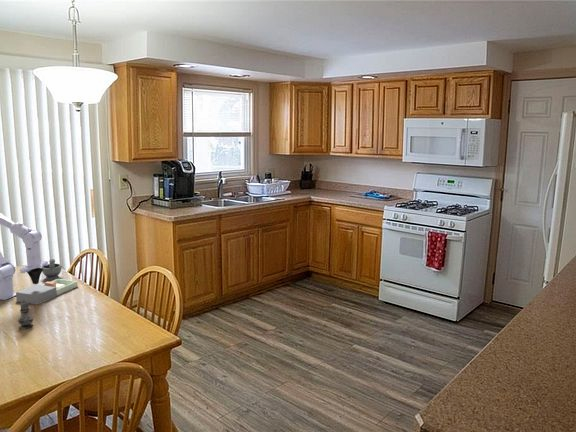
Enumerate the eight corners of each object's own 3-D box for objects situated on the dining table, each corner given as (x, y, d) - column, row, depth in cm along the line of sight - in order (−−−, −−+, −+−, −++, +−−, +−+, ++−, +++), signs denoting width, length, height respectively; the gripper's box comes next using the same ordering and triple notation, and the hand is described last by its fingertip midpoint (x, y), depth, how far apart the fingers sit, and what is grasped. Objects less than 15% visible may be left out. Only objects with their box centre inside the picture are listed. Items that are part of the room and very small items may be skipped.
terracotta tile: (44, 282, 234) (47, 281, 236) (45, 292, 235) (48, 291, 237) (52, 283, 233) (55, 282, 234) (53, 293, 233) (56, 292, 235)
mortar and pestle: (41, 277, 259) (40, 255, 257) (60, 274, 264) (58, 253, 262) (44, 282, 250) (42, 260, 248) (63, 279, 255) (62, 258, 253)
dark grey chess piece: (27, 330, 192) (24, 302, 190) (14, 328, 194) (12, 301, 191) (37, 324, 198) (35, 297, 196) (25, 323, 199) (22, 296, 197)
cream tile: (56, 283, 242) (57, 287, 243) (49, 286, 237) (49, 290, 238) (64, 284, 241) (65, 288, 241) (57, 287, 236) (57, 291, 236)
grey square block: (16, 301, 223) (15, 292, 222) (36, 293, 235) (36, 284, 234) (37, 304, 220) (36, 295, 219) (56, 296, 231) (55, 287, 230)
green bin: (37, 292, 235) (37, 287, 234) (58, 284, 248) (58, 278, 248) (57, 295, 232) (56, 289, 231) (77, 286, 245) (77, 281, 244)
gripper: (27, 261, 215) (30, 289, 218) (52, 253, 229) (53, 280, 232) (15, 259, 217) (17, 287, 220) (40, 251, 231) (42, 278, 234)
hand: (35, 283), depth 226 cm, fingers closed
